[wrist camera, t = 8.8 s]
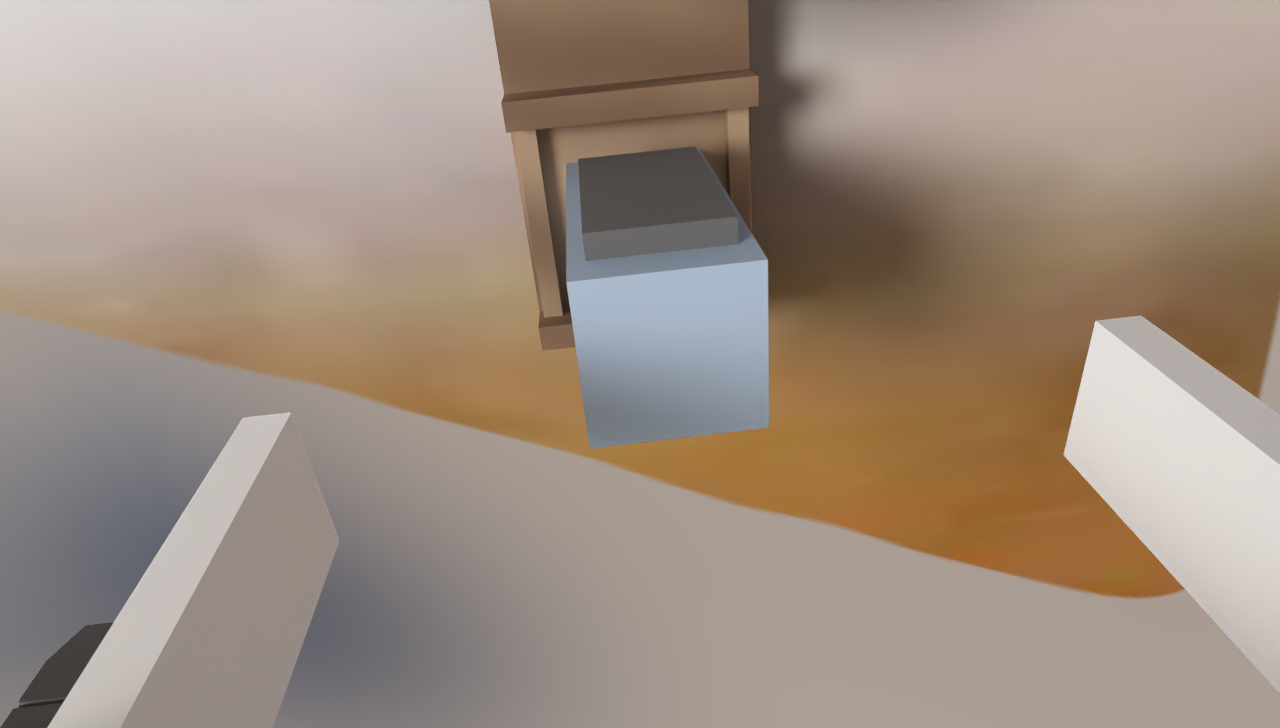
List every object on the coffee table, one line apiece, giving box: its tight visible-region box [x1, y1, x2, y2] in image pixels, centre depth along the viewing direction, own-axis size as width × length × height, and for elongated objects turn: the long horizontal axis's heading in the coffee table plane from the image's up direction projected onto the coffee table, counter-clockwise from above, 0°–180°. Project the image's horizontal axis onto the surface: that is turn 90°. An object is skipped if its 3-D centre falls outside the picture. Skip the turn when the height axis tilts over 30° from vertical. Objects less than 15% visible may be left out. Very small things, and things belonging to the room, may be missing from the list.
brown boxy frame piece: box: [489, 0, 759, 350], centre depth 18 cm, size 18×7×10 cm, turn 5°
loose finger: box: [566, 146, 769, 449], centre depth 20 cm, size 5×4×9 cm
